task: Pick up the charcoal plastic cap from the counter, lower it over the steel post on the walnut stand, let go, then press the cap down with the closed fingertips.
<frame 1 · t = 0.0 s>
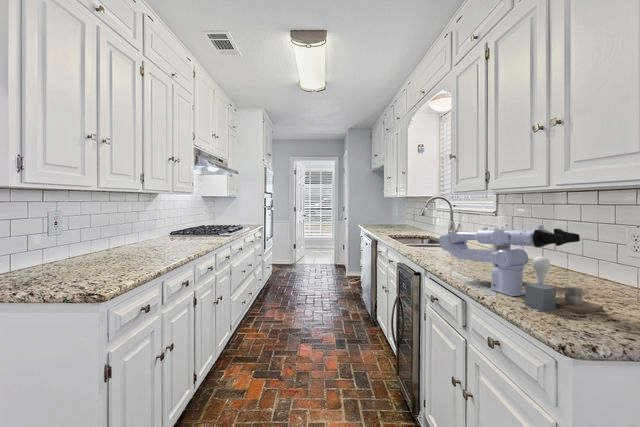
hand: (570, 238, 95), 22 cm above the worktop, tool horizontal, fingers open, 7 cm apart
spray can: (500, 279, 134), on the worktop
lightbulb: (540, 284, 125), on the worktop
cap: (539, 307, 98), on the worktop
post stand: (573, 306, 98), on the worktop
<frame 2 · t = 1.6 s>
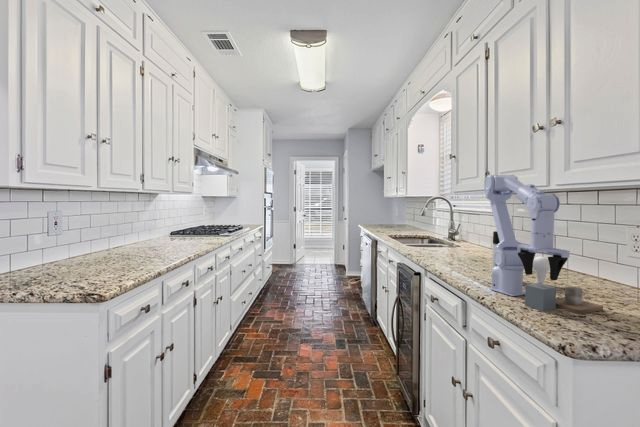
hand: (540, 277, 98), 9 cm above the worktop, tool pointing down, fingers open, 7 cm apart
nothing on the worktop moved.
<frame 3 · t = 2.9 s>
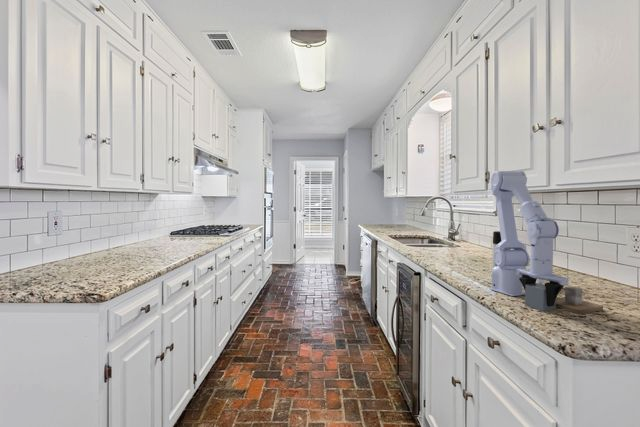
hand: (540, 302, 98), 1 cm above the worktop, tool pointing down, fingers closed on cap, 6 cm apart
cap: (539, 307, 98), on the worktop, touching gripper
everything else where it was.
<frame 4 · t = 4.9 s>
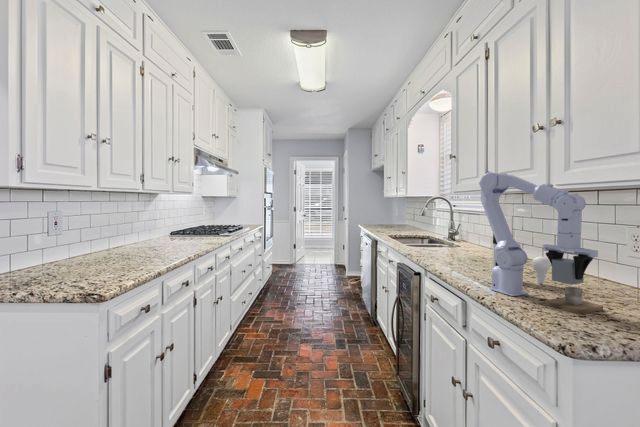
hand: (567, 276, 98), 9 cm above the worktop, tool pointing down, fingers closed on cap, 6 cm apart
cap: (567, 281, 98), point 8 cm above the worktop, touching gripper
everything else where it was.
when the fingers open (4 cm above the worktop, at t = 6.8 s): cap drops 2 cm, resting on post stand.
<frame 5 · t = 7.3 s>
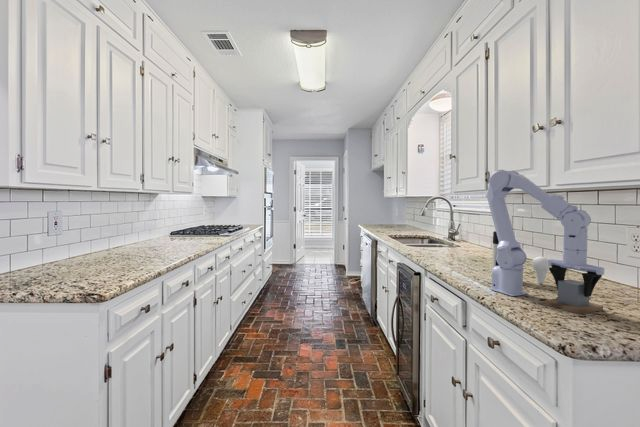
hand: (573, 292, 98), 4 cm above the worktop, tool pointing down, fingers open, 7 cm apart
cap: (572, 303, 98), point 1 cm above the worktop, touching post stand
everything else where it was.
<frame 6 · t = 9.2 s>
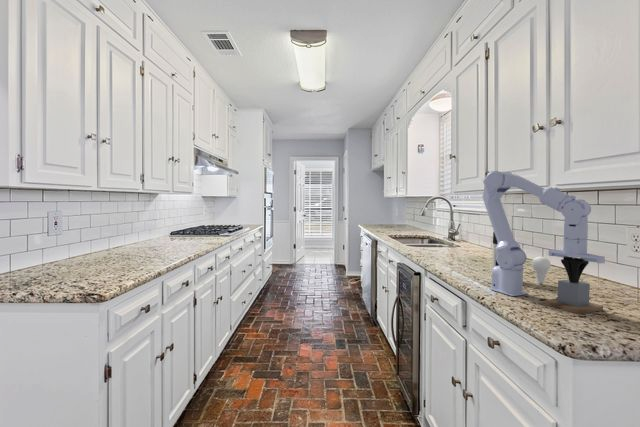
hand: (574, 282, 98), 8 cm above the worktop, tool pointing down, fingers closed, pressing on cap
cap: (572, 303, 98), point 1 cm above the worktop, touching gripper, post stand
everything else where it was.
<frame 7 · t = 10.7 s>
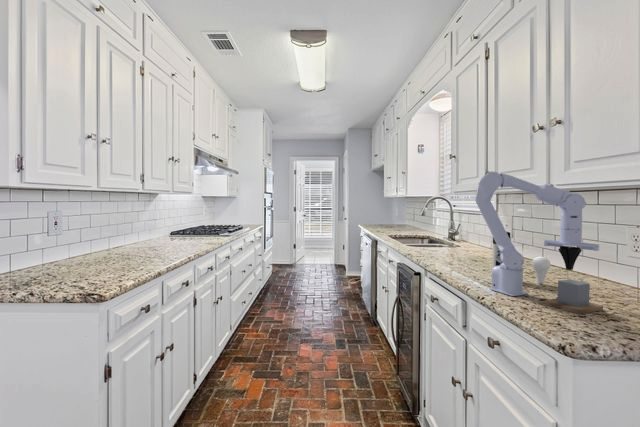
hand: (569, 269, 106), 10 cm above the worktop, tool pointing down, fingers closed
cap: (572, 303, 98), point 1 cm above the worktop, touching post stand
everything else where it was.
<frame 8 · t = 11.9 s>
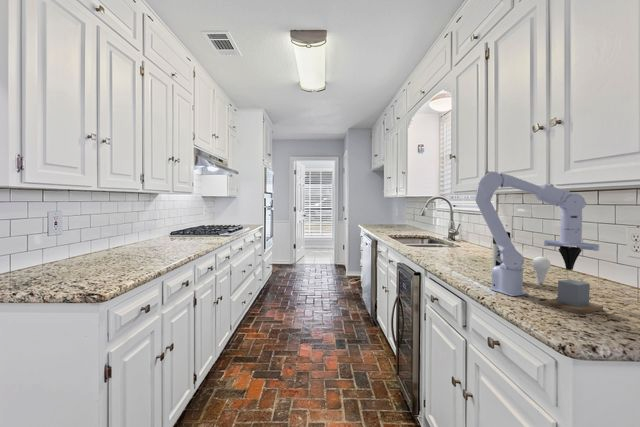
hand: (569, 269, 106), 10 cm above the worktop, tool pointing down, fingers closed
nothing on the worktop moved.
at the end: cap 0.1 cm from the post stand (horizontally); cap point 1.2 cm above the worktop; cap tilted 0° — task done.
